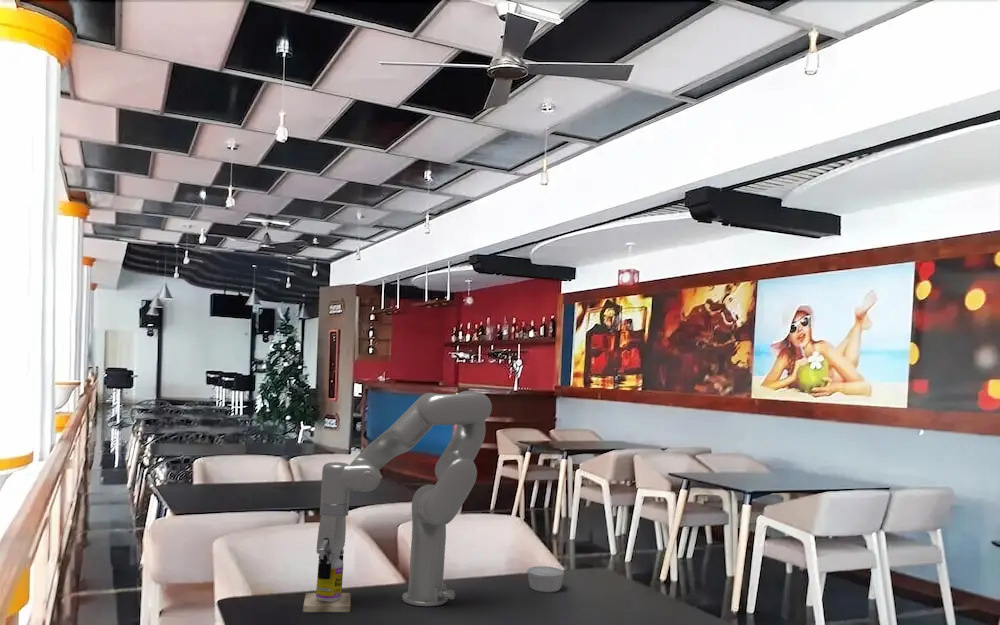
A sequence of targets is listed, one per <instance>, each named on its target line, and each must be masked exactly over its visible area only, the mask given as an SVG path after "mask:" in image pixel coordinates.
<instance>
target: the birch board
mask: <svg viewBox="0 0 1000 625" xmlns="http://www.w3.org/2000/svg"><path fill="white" fill-rule="evenodd" d="M351 601H352V600H351V592H341V598H340V599H339V600H338V601H335V602H322V601H319V600H317V599H316V592H306V593H305V596H304V602H303V606H302V613H350V612H351V603H352V602H351Z"/></svg>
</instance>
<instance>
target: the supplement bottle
mask: <svg viewBox="0 0 1000 625" xmlns="http://www.w3.org/2000/svg"><path fill="white" fill-rule="evenodd" d="M328 552H330V551H328ZM340 555H341V550H340V551H338V552H337V553H335V554H334V555H332V557H331V561H330V563H331V577H330V579H319V578H318V575H316V578H317V580H316V590H315V591H316V592H315V593H316V599H317V600H319V601H322V602H335V601H338V600H339V599H340V598H341V593H343V592H342V588H343V574H344V560H343V561H342V560H341V559H339V557H340ZM326 556H327V559H328V555H326ZM318 569H319V562H318V566H317V570H318Z"/></svg>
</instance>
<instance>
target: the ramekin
mask: <svg viewBox="0 0 1000 625" xmlns="http://www.w3.org/2000/svg"><path fill="white" fill-rule="evenodd" d="M526 571H527V572H526V574H527V576H528V586H529V587H530V589H531V590H534V591H536V592H542V593H555V592H559V591H560V590H561V589H562V585H563V580H564V576H565V571H564V570H563V569H561V568H557V567H553V566H542V565H541V566H531V567H529V568H528V569H527V570H526Z"/></svg>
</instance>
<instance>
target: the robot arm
mask: <svg viewBox="0 0 1000 625" xmlns="http://www.w3.org/2000/svg"><path fill="white" fill-rule="evenodd" d="M492 408H493V406H492V402H491V399H490V398H489V397H488V396H487V395H486V394H485V393H482V392H477V391H473V390H464V391H461V392H459V393H447V394H446V393H445V394H443V393H437V392H436V393H434V392H426V393H424V394H422V395H420V397H418V398H417V399H416V400H415V402H413V404H411V405H410V406H409V407H408V408H407V410H406V411H405V412H403V414H401V416H400V417H399V418H398V419H397V420H395V422H394V423H393V424H391V426H390V427H389V428H388V429H386V430H384V432H382V433H381V434H380V435H379V436H378V437H376V438H375V439H374V440H373V441H372V442H370V443H369V444H368V445H367V446H366V447H365V448H363V450H362V451H361V452H360V453H359V454H358V455H357V456H355V458H354V459H353V460H352V461H351V462H350V464H348V463H345V462H339V461H335V462H327V463H324V465H323V466H322V472H321V473H322V474H321V489H320V504H319V505H320V507H319V516H320V519H319V526H318V532H317V540H316V542H317V543H316V553H317V554H318V563H319V569H318V568H317V576H318V578H319V579H330V577H331V563H330V561H331V557H332V555H334V554H335V553H337V552H338V551H340V550H341V555H340V557H339V559H341V560H342V561H343V562H344V554H345V551H344V547H345V545H346V544H345V543H346V533H347V531H346V529H347V528H346V526H347V519H346V517H347V516H349V508H350V507H349V505H350V503H349V502H350V491H355V492H356V491H357V492H363V493H364V492H366V493H368V492H372V491H374V490H375V489H376V488H378V486H379V485H380V483H381V479H382V478H381V474H380V470H381V469H382V468H383V467H384V466H386V464H388V462H389V461H391V460H392V459H394V458H395V457H397V456H400V455H402V454H405V453H407V452H409V451H410V450H413V448H414V447H415V446H416V445H417V444H418V443H419V442H420V441H421V440H422V439H423V438H424V436H426V435H427V433H428V432H429V431H431V429H432V428H433V427H435V426H455V425H456V429H455V432H454V434H453V436H452V437H451V439H450V441H449V443H448V445H447V446H446V447H445V449H444V451H443V453H441V456H440V457H439V459H438V460H437V462H436V464H435V468H434V474H435V477H436V478H437V482H436V484H424V485H423V486H421V487H419V488H418V489H417V490H416V491H415V492H414V494H413V496H412V500H411V523H412V524H411V526H412V527H411V530H412V531H411V543H410V556H409V557H410V559H409V560H410V561H409V576H408V590H407V591H406V592H403V594H402V597H401V598H402V599H401V600H402V601H403V602H404V603H406V604H409V605H412V606H417V607H419V606H420V607H435V606H441V605H444V604H446V603H447V602H448V600H454V599H455V597H456V592H455V590H454V589H447V583H444V571H445V558H446V557H445V556H446V555H445V554H446V541H447V540H446V539H447V538H446V537H447V526H446V525H447V524H450V523H451V521H452V520H454V518H455V517H456V516H457V515H458V514H459V513H458V512H459V511H460V510H461V508H462V506H463V504H464V503H465V501H466V500H467V498H468V496H469V495H470V492H471V491H472V489H473V488H474V486H475V484H476V480H477V476H478V470H477V466H476V464H475V462H474V461H475V459H476V457H477V455H478V453H479V451H480V450H481V447H482V446H483V444H484V441H485V436H486V431H487V430H486V420H487V419H489V417H490V416H491V414H492V411H493V409H492ZM328 551H330V552H328ZM326 555H328V559H327V556H326Z"/></svg>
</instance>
